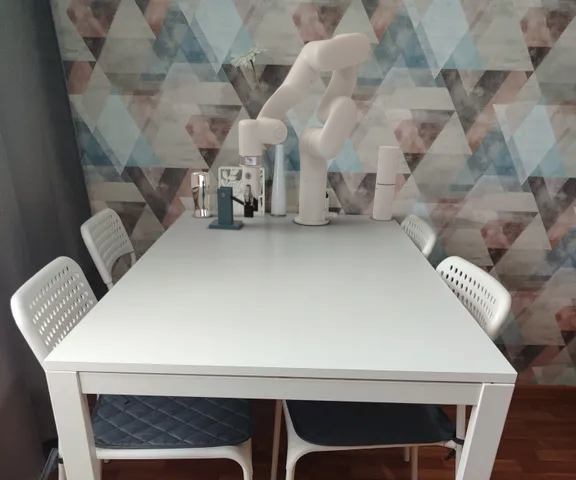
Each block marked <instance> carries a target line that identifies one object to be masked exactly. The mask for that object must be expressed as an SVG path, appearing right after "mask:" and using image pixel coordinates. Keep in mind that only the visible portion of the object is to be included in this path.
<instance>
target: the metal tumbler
mask: <svg viewBox="0 0 576 480" xmlns="http://www.w3.org/2000/svg"><path fill="white" fill-rule="evenodd" d="M210 176H211V175H210V172H208V171H207V172H206V171H195V172H191V173H190V188H191V194H192V198H193V204H194V212H193V217H195V218H201V219H202V218H210V217H211V211H210V210H211V209H210V198H211V178H210Z"/></svg>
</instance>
